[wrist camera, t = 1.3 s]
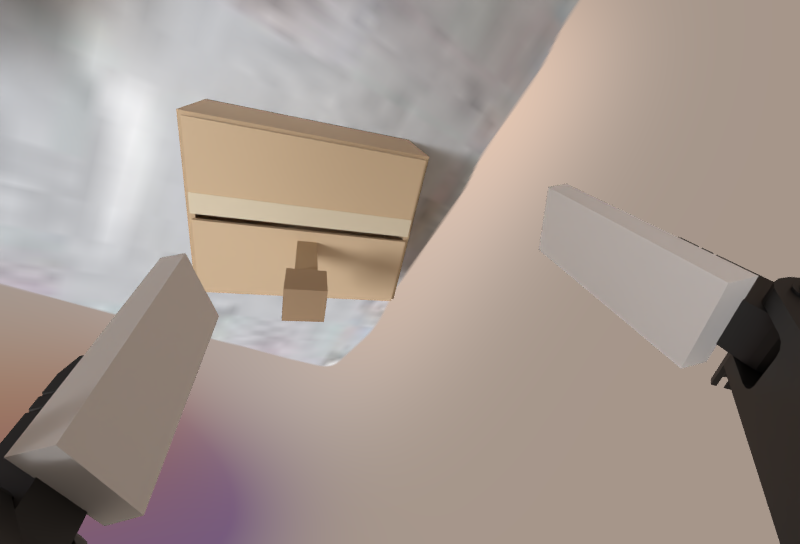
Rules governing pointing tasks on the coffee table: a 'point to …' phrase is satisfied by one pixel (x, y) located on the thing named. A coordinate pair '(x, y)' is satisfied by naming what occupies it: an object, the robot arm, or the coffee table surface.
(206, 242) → the flap outer
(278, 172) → the carton
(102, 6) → the coffee table surface
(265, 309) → the coffee table surface
